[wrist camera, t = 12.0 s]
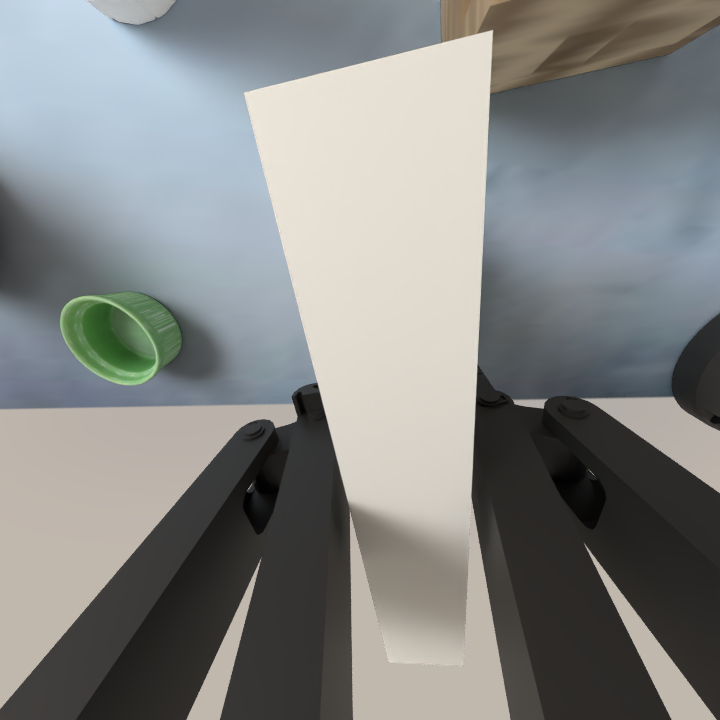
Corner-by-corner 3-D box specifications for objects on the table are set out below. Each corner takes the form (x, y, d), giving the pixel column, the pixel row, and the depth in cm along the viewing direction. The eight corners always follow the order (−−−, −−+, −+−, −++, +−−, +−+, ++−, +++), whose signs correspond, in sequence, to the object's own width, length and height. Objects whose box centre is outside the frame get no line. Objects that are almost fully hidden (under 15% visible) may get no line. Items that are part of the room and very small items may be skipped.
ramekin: (96, 274, 27) (47, 283, 23) (187, 300, 27) (154, 313, 23) (110, 353, 31) (70, 371, 27) (189, 374, 31) (161, 395, 27)
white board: (396, 201, 20) (491, 31, 3) (410, 373, 27) (463, 666, 9) (363, 206, 21) (243, 93, 3) (385, 375, 27) (388, 662, 9)
